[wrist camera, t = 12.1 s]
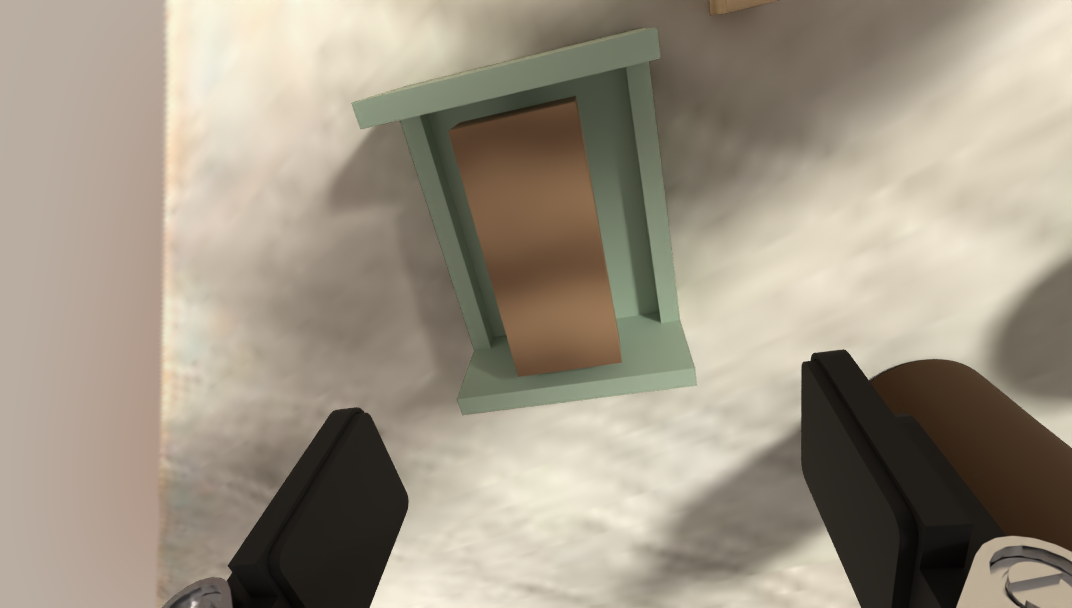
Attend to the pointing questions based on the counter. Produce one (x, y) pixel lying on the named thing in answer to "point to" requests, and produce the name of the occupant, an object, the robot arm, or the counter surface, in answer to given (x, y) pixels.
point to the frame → (620, 196)
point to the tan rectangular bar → (733, 5)
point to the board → (540, 235)
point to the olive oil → (989, 445)
